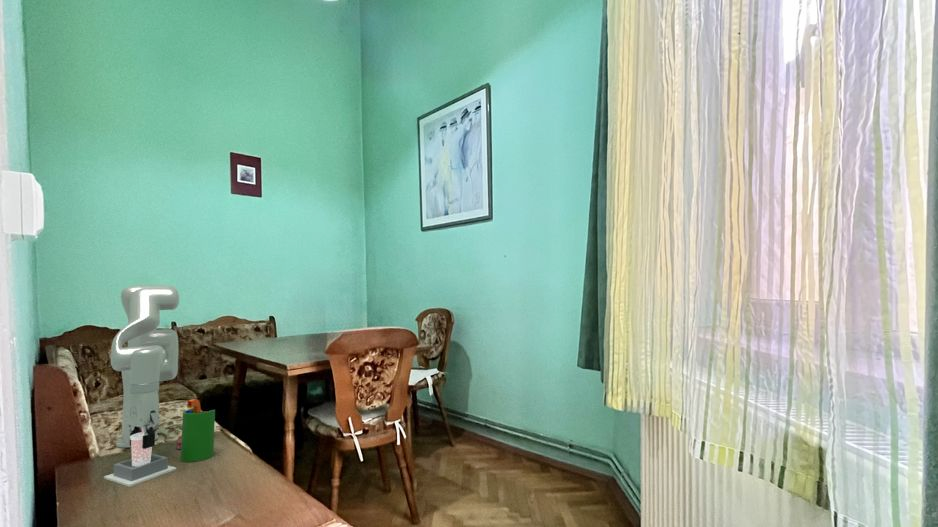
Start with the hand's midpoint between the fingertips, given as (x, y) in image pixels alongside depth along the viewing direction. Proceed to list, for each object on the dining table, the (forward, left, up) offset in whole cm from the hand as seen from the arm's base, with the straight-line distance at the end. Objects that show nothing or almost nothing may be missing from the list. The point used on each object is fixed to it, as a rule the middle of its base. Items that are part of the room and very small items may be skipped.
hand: (142, 445), depth 131 cm
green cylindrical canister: (+3, +16, -9) cm, 18 cm away
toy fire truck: (-12, +24, -9) cm, 28 cm away
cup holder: (0, 0, -9) cm, 9 cm away
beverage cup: (0, 0, -6) cm, 6 cm away
